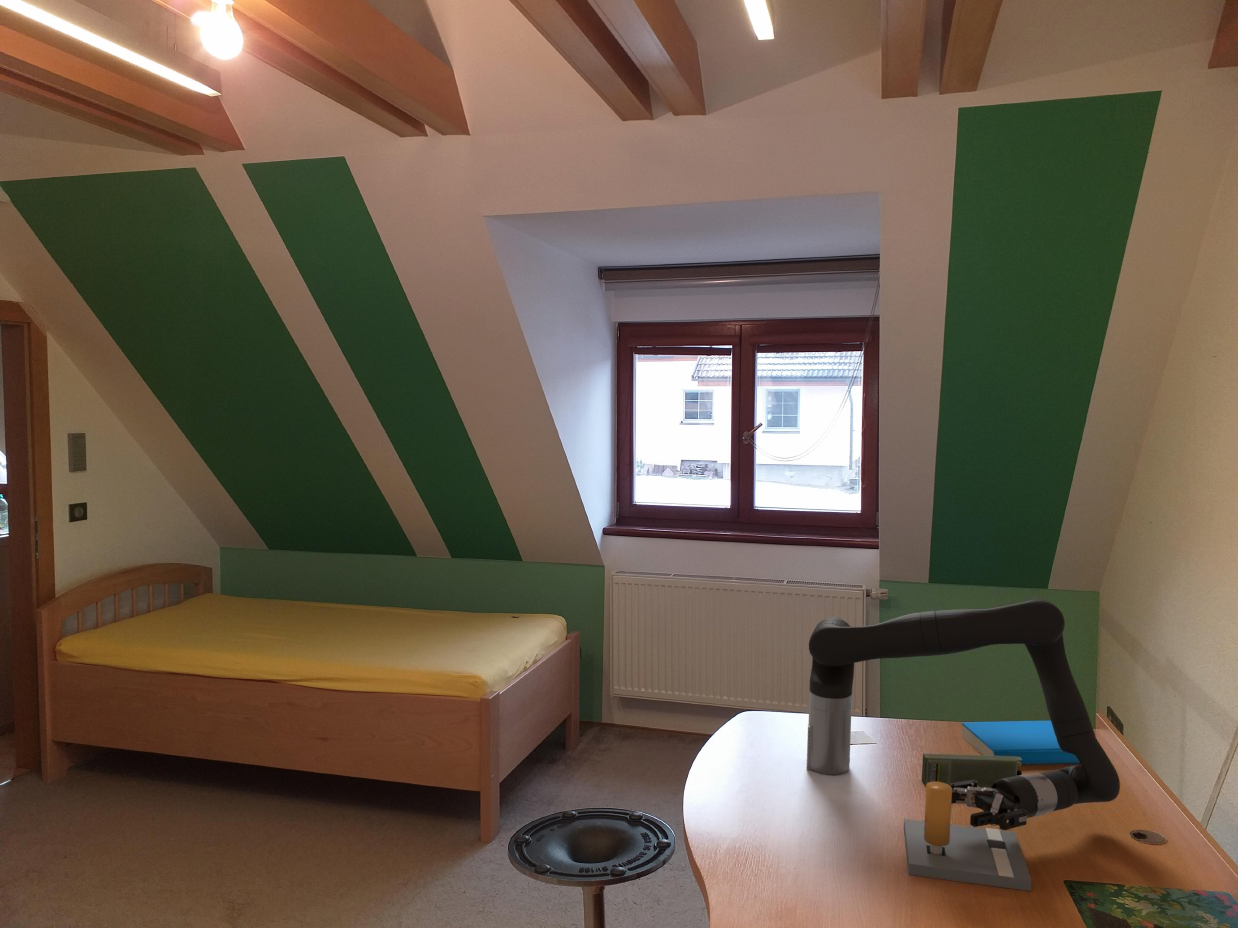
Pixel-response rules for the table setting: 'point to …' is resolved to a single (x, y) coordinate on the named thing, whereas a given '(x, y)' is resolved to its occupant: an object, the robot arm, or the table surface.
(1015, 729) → the book
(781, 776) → the table surface
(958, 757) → the handheld radio
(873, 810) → the table surface
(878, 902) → the table surface
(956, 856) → the board
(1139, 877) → the table surface
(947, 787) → the orange and grey cylinder
